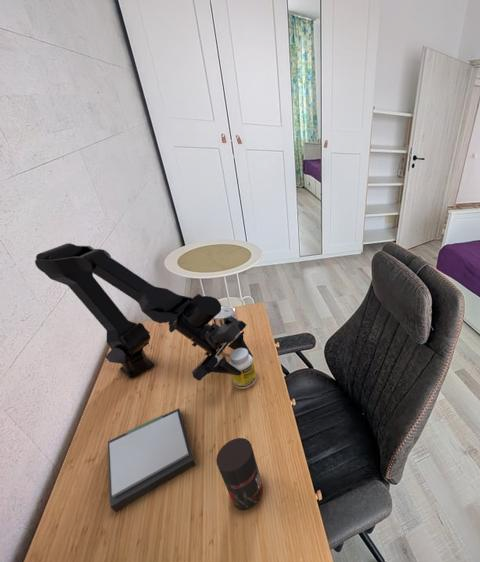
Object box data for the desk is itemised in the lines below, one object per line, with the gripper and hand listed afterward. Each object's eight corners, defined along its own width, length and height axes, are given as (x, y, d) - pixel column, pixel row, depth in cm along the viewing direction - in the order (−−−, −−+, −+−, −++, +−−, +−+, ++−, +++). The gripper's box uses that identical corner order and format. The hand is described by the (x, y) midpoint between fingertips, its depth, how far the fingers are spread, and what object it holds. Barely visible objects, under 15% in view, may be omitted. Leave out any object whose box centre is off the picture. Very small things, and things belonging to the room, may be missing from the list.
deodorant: (264, 502, 58) (252, 463, 50) (232, 515, 56) (215, 476, 48) (262, 473, 62) (251, 433, 55) (232, 484, 60) (217, 444, 53)
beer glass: (235, 338, 98) (227, 303, 91) (247, 347, 95) (239, 311, 88) (216, 349, 93) (205, 312, 86) (228, 359, 90) (217, 322, 83)
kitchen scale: (111, 446, 65) (106, 439, 64) (181, 413, 73) (178, 406, 72) (114, 512, 55) (108, 505, 53) (195, 464, 63) (192, 457, 62)
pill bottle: (249, 391, 80) (242, 364, 75) (229, 387, 81) (221, 359, 76) (260, 375, 86) (255, 348, 80) (242, 370, 86) (235, 344, 81)
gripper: (191, 341, 64) (246, 380, 69) (234, 296, 80) (276, 331, 85) (168, 362, 68) (222, 397, 73) (213, 316, 84) (255, 347, 89)
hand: (246, 365), depth 80 cm, fingers closed on pill bottle, 6 cm apart
